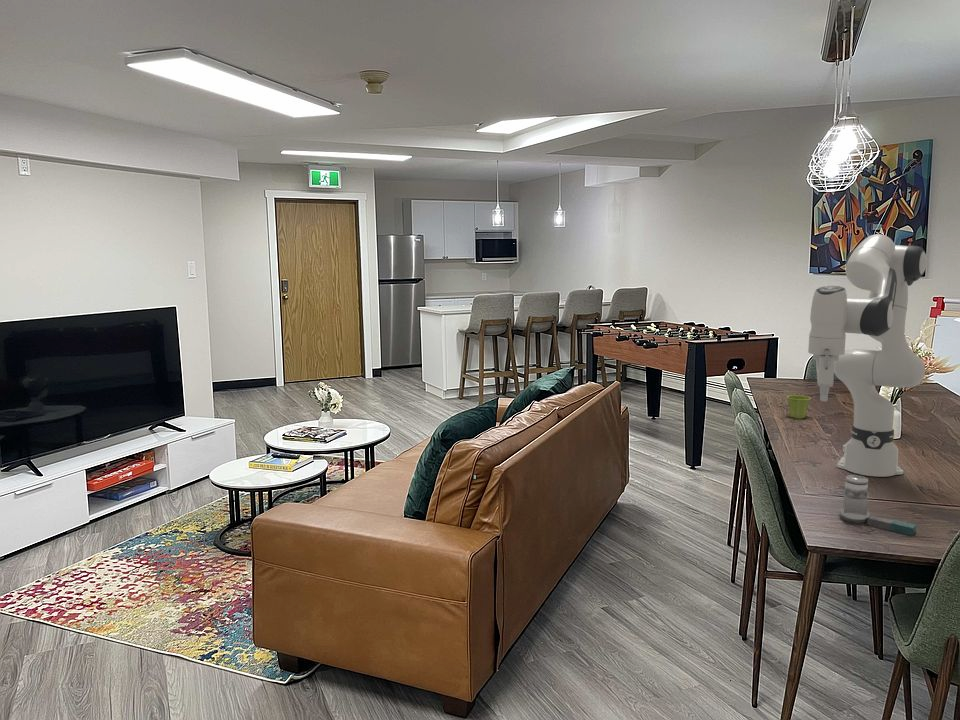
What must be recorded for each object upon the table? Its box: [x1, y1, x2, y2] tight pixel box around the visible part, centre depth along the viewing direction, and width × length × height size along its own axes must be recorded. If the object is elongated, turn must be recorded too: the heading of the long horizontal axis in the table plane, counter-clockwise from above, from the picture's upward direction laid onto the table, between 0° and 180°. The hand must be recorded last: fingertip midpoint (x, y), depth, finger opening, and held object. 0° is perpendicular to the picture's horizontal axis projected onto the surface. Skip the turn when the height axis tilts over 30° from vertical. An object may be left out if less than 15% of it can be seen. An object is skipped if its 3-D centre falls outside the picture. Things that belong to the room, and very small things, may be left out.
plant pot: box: [786, 394, 812, 420], centre depth 302 cm, size 9×9×9 cm
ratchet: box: [838, 506, 917, 537], centre depth 185 cm, size 18×7×6 cm, turn 46°
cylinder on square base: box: [842, 474, 869, 515], centre depth 188 cm, size 5×5×9 cm
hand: (823, 397), depth 194 cm, fingers open, 8 cm apart
